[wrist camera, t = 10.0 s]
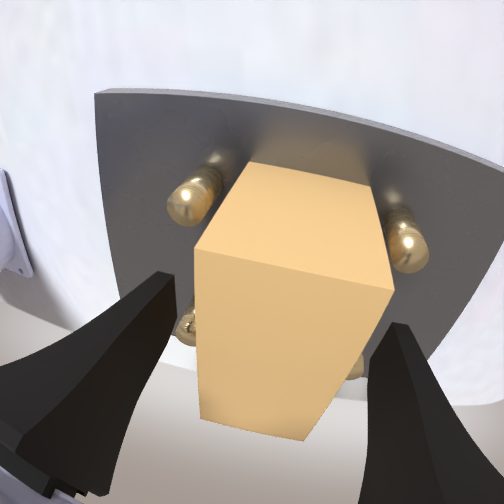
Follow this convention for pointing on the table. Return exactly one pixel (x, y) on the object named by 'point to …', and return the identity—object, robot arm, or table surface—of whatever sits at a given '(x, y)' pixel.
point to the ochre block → (285, 297)
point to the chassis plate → (302, 159)
